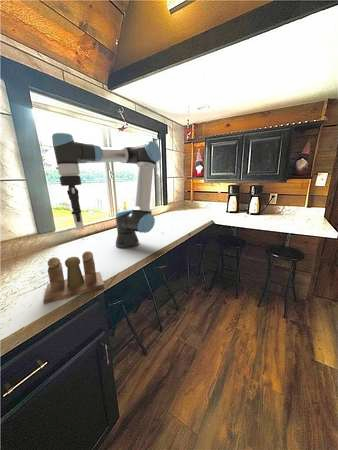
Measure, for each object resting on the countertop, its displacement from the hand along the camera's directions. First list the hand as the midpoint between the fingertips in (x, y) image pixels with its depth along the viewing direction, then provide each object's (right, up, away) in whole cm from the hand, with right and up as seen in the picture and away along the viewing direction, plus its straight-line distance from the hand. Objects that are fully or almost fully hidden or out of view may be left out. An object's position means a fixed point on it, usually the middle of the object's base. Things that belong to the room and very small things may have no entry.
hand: (78, 226), depth 79 cm
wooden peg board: (+2, -25, -6) cm, 25 cm away
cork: (+2, -23, -7) cm, 24 cm away
